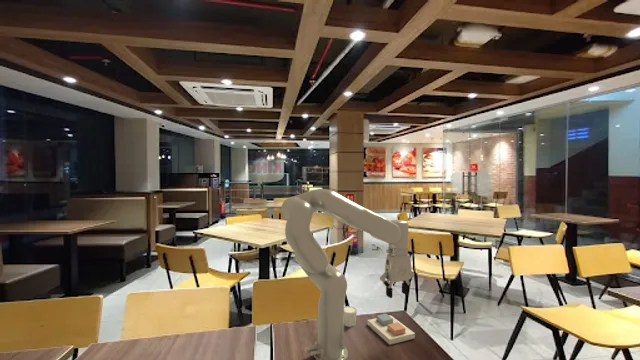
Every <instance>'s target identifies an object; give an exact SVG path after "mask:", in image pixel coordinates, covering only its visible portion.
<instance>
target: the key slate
mask: <svg viewBox="0 0 640 360" xmlns="http://www.w3.org/2000/svg"><path fill="white" fill-rule="evenodd" d="M375 318H376V321H377V322H378V323H380V324H381V325H382V326H386V325H388V324H392V323H393V318H391V317H390V316H389V314H387V313H382V314H378V315H377V314H376V317H375Z"/></svg>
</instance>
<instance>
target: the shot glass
mask: <svg viewBox="0 0 640 360" xmlns="http://www.w3.org/2000/svg"><path fill="white" fill-rule="evenodd" d="M357 312H358V310H357V308H355V306H351V305H347V306H344V327H349V328H352V327H354V326H355V325H356V322H357V314H358V313H357Z"/></svg>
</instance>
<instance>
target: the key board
mask: <svg viewBox="0 0 640 360" xmlns="http://www.w3.org/2000/svg"><path fill="white" fill-rule="evenodd" d="M388 315H389V314H388ZM389 316H390V317H391V318H393V323H397V322H398V323H399V324H401V325H402V326H403V327H404V328H405V334H402V335H398V336H394V335H393V334H392V333H390V332H389V331H388V330H387V325H386V326H382V325H381V324H380V323H378V322H377V321H376V317H375V318H370V319H367V326H368V327H370V329H372V330H373V331H374V332H375V333H376V334H378V335H379V337H381V339H383V341H384V342H386V343H387V345H394V344H398V343H401V342H406V341H409V340H410V341H411V340H414V339H416V333H415V332H414V331H413V330H412V329H410V328H409V327H407V326H406V325H404V324H403V323H402V322H400V321H399V320H398V319H396V318H395V316H393V315H389Z"/></svg>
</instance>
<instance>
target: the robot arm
mask: <svg viewBox="0 0 640 360" xmlns="http://www.w3.org/2000/svg"><path fill="white" fill-rule="evenodd" d="M280 210H281V214H282V217H284V218H285V219H286V223H285V229H284V231H285V232H284V234H285V239H286V241H287V243H288V245H289V247H290V248H291V250H292V251H293V252H294V258H295V261H296V263H298V265H299V267H300V268H301V269H302V271H303V272H304V273H305V274H306V276H307V277H308V278H309V279H310V281H311V282H312V283H313V284H314V285H315V287H317V288H318V289H319V291H320V294H319V299H318V305H317V340H315V341H314V342H315V343H314V344H312V345H311V346H305V347H304V352H305V354H309V353H310V356H311V357H313V358H314V359H315V360H347V359H348V357H349V353H348V352H349V351H348V349H347V347H346V346H344V345H345V343H344V342H345V326H344V307H345V303H346V302H345V301H346V295H347V290H348V282H347V279H346V278H347V277H346V276H345V275H344V274H343V272H341V270H339V269H337V268H336V267H335V266H333V265H332V264H331V263H330V262H329V256H328V254H327V253H326V251H325V250H324V249H323V247H322V246H321V245H320V244H319V242H318V241H317V239H316V238H315V236H314V235H313V233H312V232H311V228H310V226H311V221H312V218H313V215H314V213H317V212H321V213H324V214H325V215H327V216H329V217H331V218H332V219H333V218H334V219H335V220H338V221H340V223H343V224H344V225H347V226H349V227H351V228H353V229H356V230H358V231H362V232H365V233H367V234H369V235H370V236H371V237H372V238H374V239H376V240H379V241H381V242H384V243H386V244H388V248H387V249H386V253H387V255H386V257H385V263H384V265H385V266H384V272H383V273H382V275H381V276H380V277H379V280H380V281H381V282H382V284H383V285H384V287H385V296H387V297H388V298H390V299H392V298H393V288H392V286H393V284H394V283H397V282H398V283H400V282H402V283H401V293H402V294H404V295H405V296H408V295H409V285H410V284H411V281H413V278H414V276H415V272H413V271H412V261H411V256H410V254H409V222H408V221H406V220H404V219H391V220H389V219H387V218H386V217H383V216H381V215H379V214H377V213H376V212H373V211H372V210H370V209H368V208H366V207H364V206H362V205H360V204H358V203H356V202H354V201H352V200H351V199H348V198H347V197H345V196H343V195H341V194H339V193H338V192H336V191H333V190H331V189H327V188H326V189H325V188H316V189H313V190H309V191H307V192H304V193H300V194H297V195H294V196H290V197H288V198H286V199H285V200H284V201H283V202H282V204H281V208H280Z"/></svg>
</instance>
